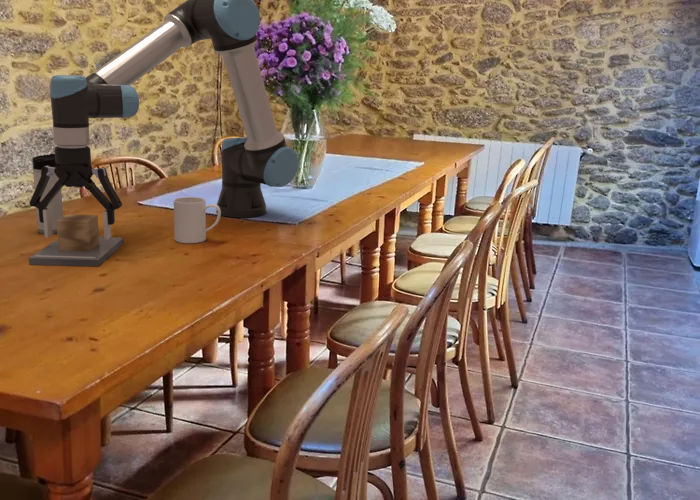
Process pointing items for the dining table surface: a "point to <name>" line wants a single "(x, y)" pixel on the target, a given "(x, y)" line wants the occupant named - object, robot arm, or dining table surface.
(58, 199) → the travel mug
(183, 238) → the mug
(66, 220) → the oak cube
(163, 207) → the dining table surface
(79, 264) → the slate board
